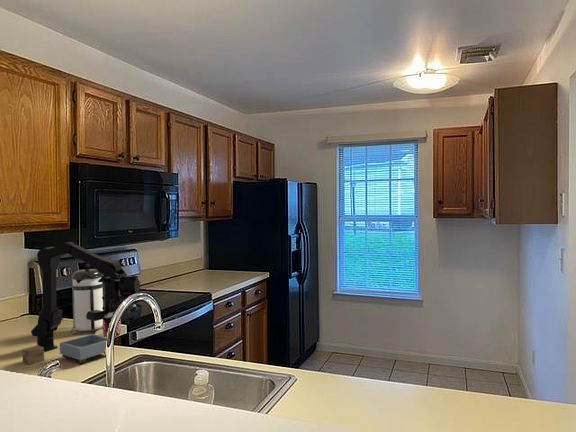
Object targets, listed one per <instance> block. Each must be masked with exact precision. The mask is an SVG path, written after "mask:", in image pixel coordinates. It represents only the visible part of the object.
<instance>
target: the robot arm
mask: <svg viewBox="0 0 576 432" xmlns="http://www.w3.org/2000/svg"><path fill="white" fill-rule="evenodd" d="M36 253H37V254H36V257H37V263H38V266H39V268H40V270H41V271H42V272H41V273H42V274H41V275H42V277H41V278H42V279H41V281H42V282H41V283H42V285H41V286H42V288H41V290H42V293H41V294H42V295H41V296H42V297H41V298H42V305H41V307H42V308H41V310H40V312H39V315H38V316H37V317H38V318H37V323H36V325H35V326H34V328H32V329H31V330H30V332H31V335H32V337H36V345H38V346H41V347H44V352H47V351H50V350H51V351H52V350H54V349H57V348H58V346H57V345H55V344H54V343H55V341H54V332H55V331H58V327H59V326H60V325H61V323H62V321H63V319H64V318H63V309H59V308H58V306H57V269H58V268H59V265H60V263H61V257H62V256H66V255H69V256H71V257H74V258H76V259H78V260H80V261H82V262H84V263H85V264H89V265H90V266H92V267H93V268H94V269H96V270H97V271H98V272H99V273H101V274H102V275H103V276H102V277H101V279H100V280H98V282H103V288H104V296H102V299H104V307H102V310H103V311H100V310H93V311H88V312H87V314H86V319H88V320H93V321H97V320H101V319H103V320H104V321H105V323H106V324H107V326H108V328H109V323H110V321H111V318H112V316H113V314H114V313H115V311H116V309H117V308H118V306H119V305H120V304H121V303H122V302H123V301H124V300H123V295H121V293H122V294H138V293H139V292H140V289H141V282H140V279H139V278H138V275H136V274H135V275H128V274H127V273H126V271H124V269H123V267H122V263H121V262H120V261H118V260H115V259H112V258H109V257H108V258H107V257H103V256H100V255H98V254H95V252H91V251H90V250H88V249H86V248H84V247H82V246H80V245H78V244H76V242H72V241H70V242H65V243H63V244H60V245H57V246H50V247H44V248H40V249H39V251H37V252H36ZM137 311H138V307H137V305H136V303H133V304H131V305H130V306H129V307H128V308H127V310H126V311H125V312H124V313H123V314H122V316H121V318H123V317H125V316H126V314H128V315H129V313H134V312H137Z"/></svg>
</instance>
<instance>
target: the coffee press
mask: <svg viewBox="0 0 576 432" xmlns="http://www.w3.org/2000/svg"><path fill="white" fill-rule="evenodd" d="M83 267H84V269H79V270H76V271H75V272H73V274H72V276H71V280H72V285H71V286H72V287H71V289H72V323H73V325H72V329H71V330H70V333H71V334H72V335H75V334H76V333H77V332H78V331H80V332H84V331H85V332H86V331H90V335H91V334H95V335H96V330H97V329H100V328H103V319H101V320H97V321H93V320H88V319H86V314H87V312H88V311H93V310H100V311H104V310H102V307H104V299H102V296H104V282H98V280H100V279H101V277H102V276H104V275H102V274H101V273H99V272H98V271H97V270H96V268H90V267H91V265H90V264H88V263H85V265H84V266H83ZM74 329H75V330H74ZM73 331H74V332H73Z"/></svg>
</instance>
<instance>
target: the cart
mask: <svg viewBox="0 0 576 432" xmlns="http://www.w3.org/2000/svg"><path fill="white" fill-rule="evenodd" d="M106 341H107V337H104V335H103V336H102V335H98V334H96V333H95V334H91V333H90V334H87V335H84V336H83V335H82V336H80V337H76V338H72V339H69V340H65V341H62V342H60V343H59V354H60V355H62V358H63V359H70V358H72V359H76V360H77V362H78V364H85V363H86V362H87V359H89V358H92V357H95V356H98V355H101V354H103V355H105V349H106Z"/></svg>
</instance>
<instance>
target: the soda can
mask: <svg viewBox="0 0 576 432" xmlns="http://www.w3.org/2000/svg"><path fill="white" fill-rule="evenodd" d="M121 331H122V318H121V319H120V321H119V323H118V327H117V330H116V336H115V338H117V337H119V336H120V335H121ZM107 332H108V326H107V324H106V323H105V321H104V320H103V325H102V333H103V337H107Z"/></svg>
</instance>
